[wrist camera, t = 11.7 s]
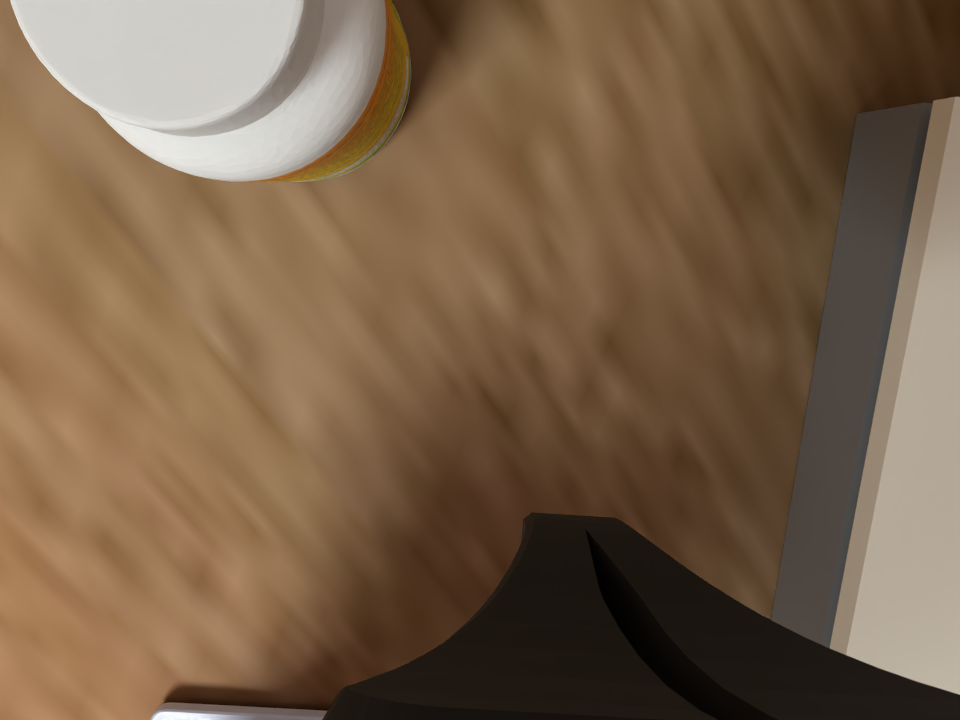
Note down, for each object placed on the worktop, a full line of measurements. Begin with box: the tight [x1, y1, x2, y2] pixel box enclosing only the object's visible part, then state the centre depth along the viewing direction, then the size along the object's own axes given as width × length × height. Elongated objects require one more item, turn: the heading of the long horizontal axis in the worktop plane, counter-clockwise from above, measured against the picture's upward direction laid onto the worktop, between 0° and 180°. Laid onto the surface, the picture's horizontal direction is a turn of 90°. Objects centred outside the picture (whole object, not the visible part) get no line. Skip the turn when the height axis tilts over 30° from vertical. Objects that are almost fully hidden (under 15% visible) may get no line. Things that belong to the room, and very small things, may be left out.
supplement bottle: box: [10, 0, 411, 182], centre depth 15 cm, size 5×5×10 cm
